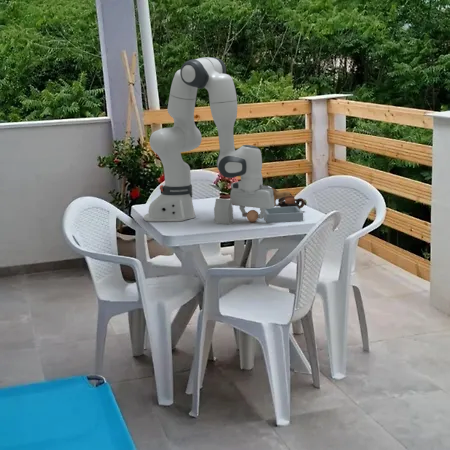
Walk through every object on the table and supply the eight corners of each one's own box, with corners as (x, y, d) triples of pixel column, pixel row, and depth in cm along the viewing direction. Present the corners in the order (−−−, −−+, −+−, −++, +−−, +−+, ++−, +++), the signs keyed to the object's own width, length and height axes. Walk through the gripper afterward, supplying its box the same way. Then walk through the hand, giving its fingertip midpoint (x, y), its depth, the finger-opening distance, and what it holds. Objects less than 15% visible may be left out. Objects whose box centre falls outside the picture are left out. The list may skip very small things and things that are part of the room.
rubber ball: (247, 223, 321) (247, 211, 320) (246, 220, 326) (245, 209, 325) (259, 222, 321) (259, 210, 320) (258, 220, 326) (257, 208, 325)
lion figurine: (265, 207, 355) (264, 187, 353) (263, 205, 360) (263, 185, 358) (297, 205, 356) (296, 186, 354) (294, 203, 361) (294, 184, 359)
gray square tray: (267, 222, 320) (266, 214, 320) (262, 215, 335) (262, 207, 334) (303, 221, 321) (303, 212, 321) (296, 214, 336) (296, 206, 335)
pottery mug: (279, 215, 337) (274, 198, 339) (282, 221, 346) (278, 204, 348) (306, 208, 335) (301, 190, 338) (308, 214, 344) (304, 196, 347)
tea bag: (228, 224, 320) (227, 200, 318) (214, 223, 324) (213, 199, 321) (233, 222, 323) (232, 198, 321) (219, 221, 327) (218, 197, 325)
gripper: (277, 185, 316) (277, 218, 319) (236, 181, 328) (237, 214, 331) (268, 187, 311) (269, 221, 314) (227, 184, 323) (228, 216, 326)
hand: (252, 217), depth 323 cm, fingers open, 7 cm apart
